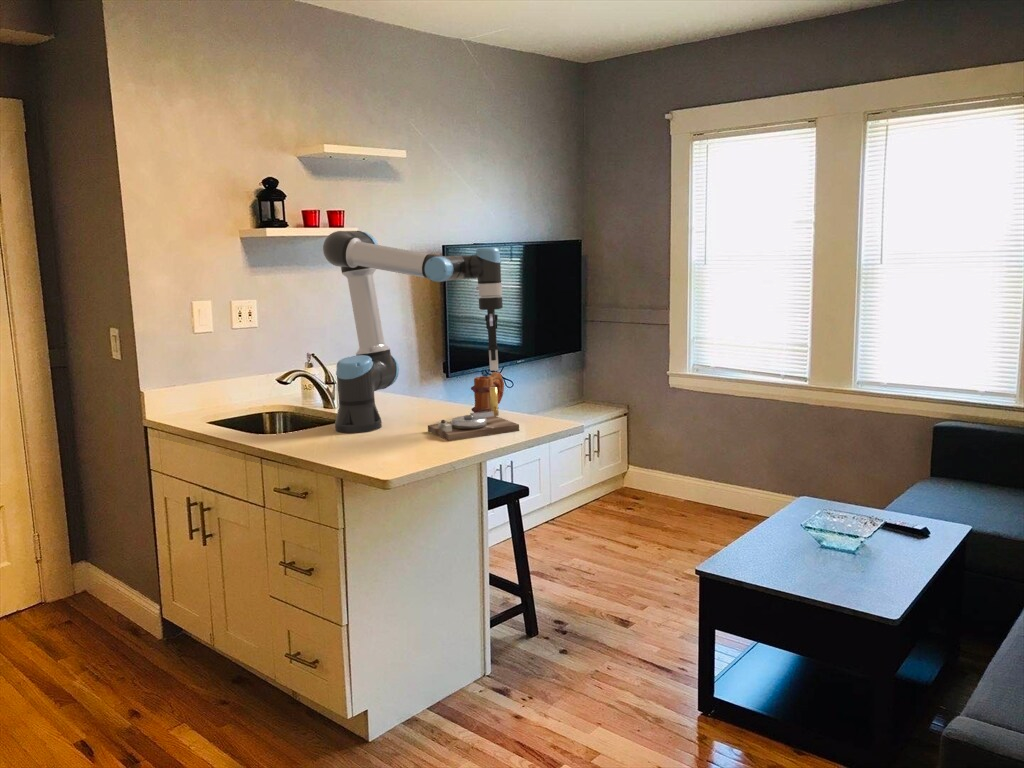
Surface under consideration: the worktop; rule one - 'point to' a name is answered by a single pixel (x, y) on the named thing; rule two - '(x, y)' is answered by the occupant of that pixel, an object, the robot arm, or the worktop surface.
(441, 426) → the stand
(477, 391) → the mug
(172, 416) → the worktop surface
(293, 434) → the worktop surface
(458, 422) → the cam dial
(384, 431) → the worktop surface
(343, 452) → the worktop surface
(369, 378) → the robot arm
